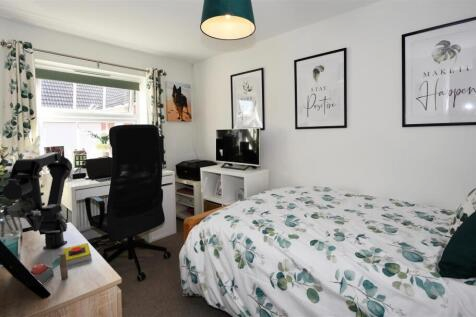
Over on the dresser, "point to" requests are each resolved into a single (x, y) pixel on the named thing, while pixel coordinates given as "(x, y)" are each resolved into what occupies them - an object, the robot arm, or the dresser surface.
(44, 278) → the popper housing
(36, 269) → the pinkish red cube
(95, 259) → the dresser surface
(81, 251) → the emergency button
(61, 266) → the finish flag
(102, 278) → the dresser surface
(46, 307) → the dresser surface
